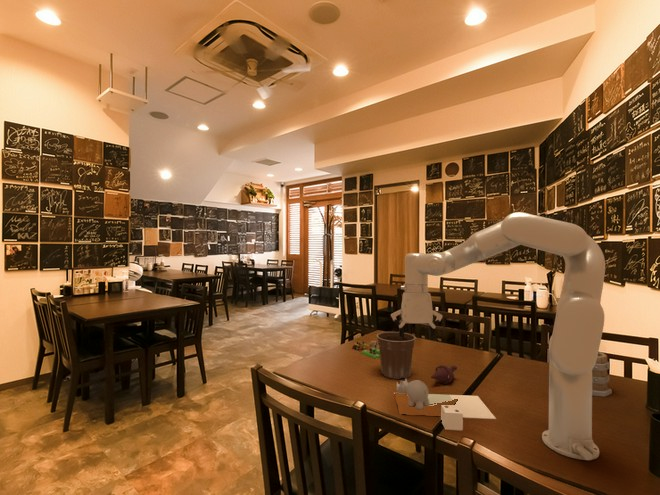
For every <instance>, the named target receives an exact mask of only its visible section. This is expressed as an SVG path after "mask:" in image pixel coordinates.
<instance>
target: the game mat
mask: <svg viewBox="0 0 660 495" xmlns="http://www.w3.org/2000/svg"><path fill="white" fill-rule="evenodd" d="M395 393H396V392H393V395H394V394H395ZM428 399H429V404H433V405H429V406H434V405H437V403H442V402H445V401H446V402H448V401H452V400H454V399H458V401H457V402H456V404H455V405H458V407H459V408H460V410H461V411H462V413H463V418H464V419H481V420H482V419H483V420H497V418H496V416H495V415H494V414H493V413H492V412H491V411H490V409H489V408H488V407H487V406H486V404H485V403H484V402H483V401H482V400H481V397H479V395H469V394H468V395H465V394H463V395H461V394H442V393H441V394H439V393H438V394H437V393H436V394H435V393H428ZM434 403H436V404H434Z"/></svg>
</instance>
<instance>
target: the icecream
mask: <svg viewBox="0 0 660 495" xmlns="http://www.w3.org/2000/svg"><path fill="white" fill-rule="evenodd" d="M457 369H458V366H457V365H451V366H450V367H448V366H447V365H438V366H436V367H435V372H434V373H433V374H432V375H431V377H430V378H431V379H434V380H437V381H439V383H440V384H444V385H448V384H449V383H450V382H452V380H453V379H454V378H455V374H454V372H456V371H457Z"/></svg>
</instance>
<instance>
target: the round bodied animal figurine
mask: <svg viewBox="0 0 660 495" xmlns="http://www.w3.org/2000/svg"><path fill="white" fill-rule="evenodd" d="M404 379H405V380H400V383H399V382H398V381H396V393H399V394H402V393H403V394H407V396H408V398H409V400H408V406H409V407H415V406H416V409H417V410H423V409H424V406H429V399H428V394H429V388H428V386H427V384H425V382H423V381H422V380H418V379H414V380H412V381H410V382H409V381H408V378H404Z"/></svg>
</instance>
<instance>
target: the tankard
mask: <svg viewBox="0 0 660 495" xmlns="http://www.w3.org/2000/svg"><path fill="white" fill-rule="evenodd" d="M547 351H548V352H549V349H548V350H547ZM610 366H611V365H610V362H609V361H608V355H607V354H605V353H604V352H601V351H598V356H597V360H596V363H595V366H594V367H593V369H592V397H594V396H595V397H601V398H605V397H608V396H609V395H611V394H613V390H612V388H610V387H609V386H608V383H609V382H610V375H609V374H608V370H609V369H610Z"/></svg>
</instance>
